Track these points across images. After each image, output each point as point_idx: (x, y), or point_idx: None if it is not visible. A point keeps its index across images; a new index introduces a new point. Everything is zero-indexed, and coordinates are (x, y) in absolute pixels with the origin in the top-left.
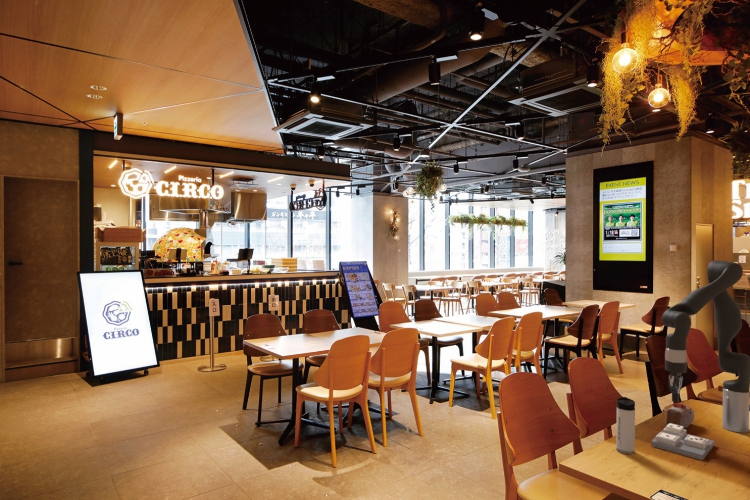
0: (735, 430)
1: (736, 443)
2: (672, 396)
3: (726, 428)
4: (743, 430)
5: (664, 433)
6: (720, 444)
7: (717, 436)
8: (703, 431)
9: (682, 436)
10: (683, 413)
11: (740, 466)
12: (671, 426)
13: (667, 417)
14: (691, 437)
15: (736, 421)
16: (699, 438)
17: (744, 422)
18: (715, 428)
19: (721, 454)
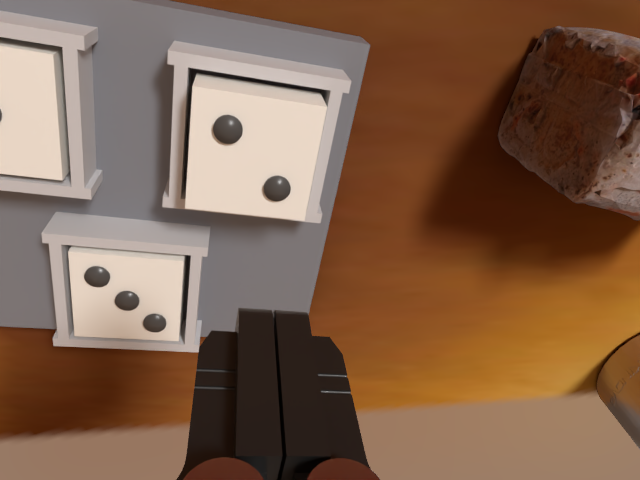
0: (605, 377)
1: (417, 387)
2: (238, 379)
3: (632, 343)
4: (606, 405)
5: (41, 76)
6: (349, 339)
7: (485, 317)
8: (545, 254)
9: None
10: (608, 209)
11: (64, 426)
12: (215, 135)
13: (595, 53)
14: (137, 272)
15: (638, 424)
16: (155, 316)
17: (637, 445)
18: (630, 298)
19: (176, 357)
